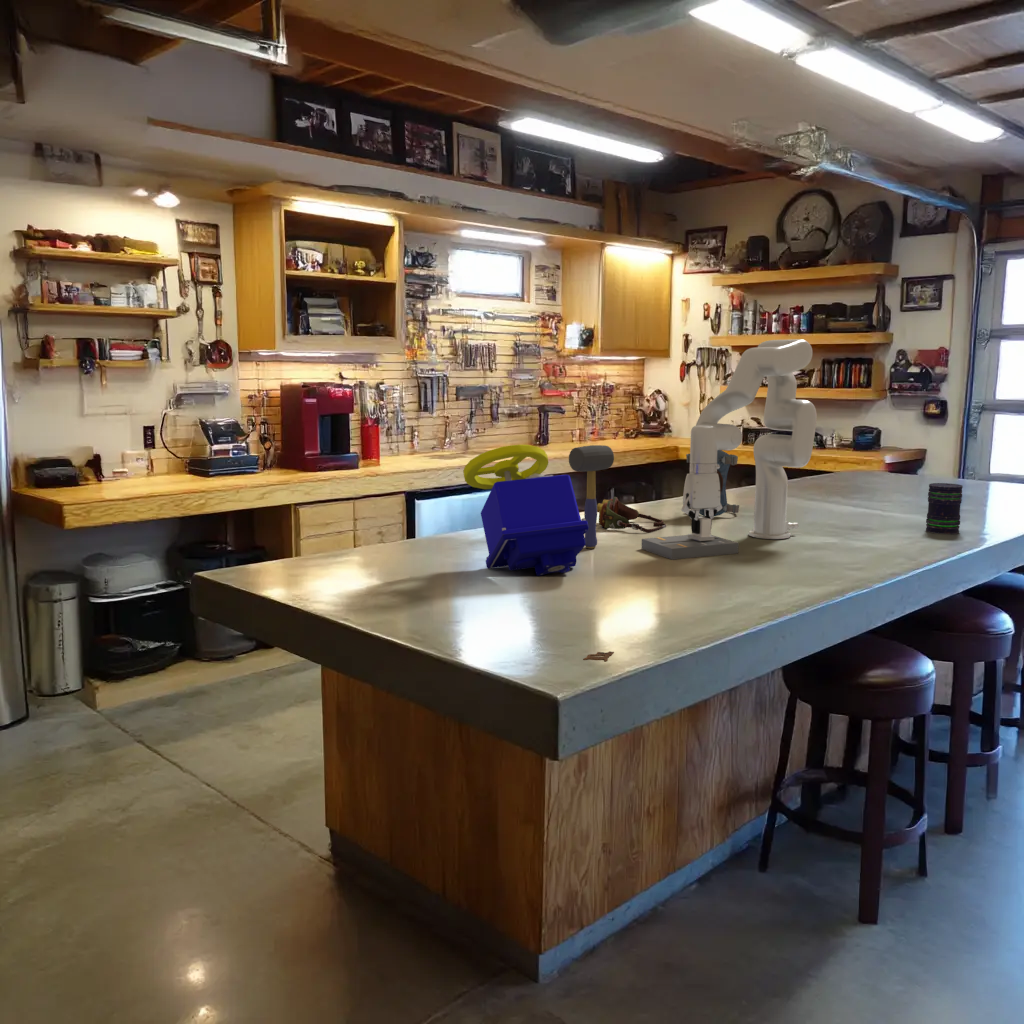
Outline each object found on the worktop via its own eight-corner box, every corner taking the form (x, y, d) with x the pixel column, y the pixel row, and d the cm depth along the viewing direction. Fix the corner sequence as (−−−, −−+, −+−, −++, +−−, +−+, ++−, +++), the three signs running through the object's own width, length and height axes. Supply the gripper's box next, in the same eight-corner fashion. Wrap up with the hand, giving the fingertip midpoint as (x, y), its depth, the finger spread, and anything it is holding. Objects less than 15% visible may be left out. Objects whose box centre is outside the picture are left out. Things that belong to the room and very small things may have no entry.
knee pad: (676, 516, 317) (678, 445, 313) (699, 509, 333) (701, 442, 329) (725, 520, 307) (728, 448, 303) (746, 513, 323) (749, 444, 319)
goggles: (672, 533, 283) (672, 502, 282) (598, 534, 284) (597, 503, 283) (661, 523, 308) (661, 494, 306) (593, 524, 308) (593, 495, 307)
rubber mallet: (582, 552, 254) (583, 447, 249) (565, 548, 260) (566, 445, 255) (614, 547, 261) (616, 445, 257) (597, 543, 267) (598, 443, 263)
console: (705, 543, 267) (705, 533, 267) (738, 553, 253) (738, 542, 252) (641, 548, 259) (641, 538, 259) (671, 559, 244) (671, 548, 244)
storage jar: (955, 535, 279) (959, 487, 277) (922, 531, 285) (925, 485, 283) (962, 530, 287) (965, 484, 285) (929, 527, 293) (932, 482, 290)
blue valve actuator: (601, 549, 215) (573, 438, 225) (494, 563, 208) (470, 448, 218) (572, 582, 238) (548, 480, 248) (475, 596, 231) (454, 490, 241)
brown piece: (613, 627, 182) (613, 623, 182) (635, 629, 181) (635, 625, 181) (580, 662, 160) (580, 658, 160) (605, 664, 159) (605, 661, 159)
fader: (702, 536, 261) (703, 515, 260) (714, 539, 255) (715, 518, 254) (687, 537, 259) (688, 516, 258) (699, 541, 253) (700, 519, 252)
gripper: (719, 466, 260) (717, 528, 263) (671, 469, 254) (669, 532, 257) (735, 469, 253) (732, 532, 256) (686, 471, 247) (684, 537, 250)
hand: (701, 532), depth 257 cm, fingers closed on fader, 3 cm apart
